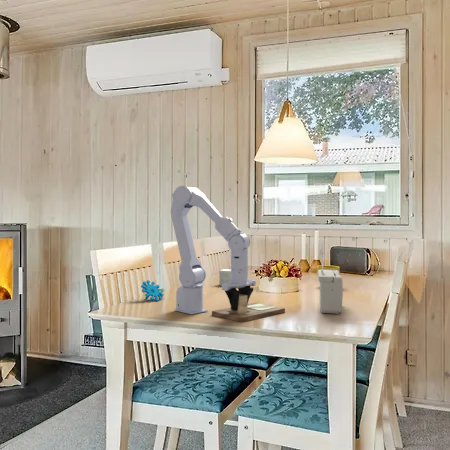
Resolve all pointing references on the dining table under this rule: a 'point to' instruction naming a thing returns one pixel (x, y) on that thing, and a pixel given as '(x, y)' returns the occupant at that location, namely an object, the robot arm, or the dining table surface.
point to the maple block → (241, 305)
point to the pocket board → (249, 312)
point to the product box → (224, 276)
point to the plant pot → (328, 268)
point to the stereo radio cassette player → (330, 290)
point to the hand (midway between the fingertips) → (239, 309)
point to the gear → (152, 291)
